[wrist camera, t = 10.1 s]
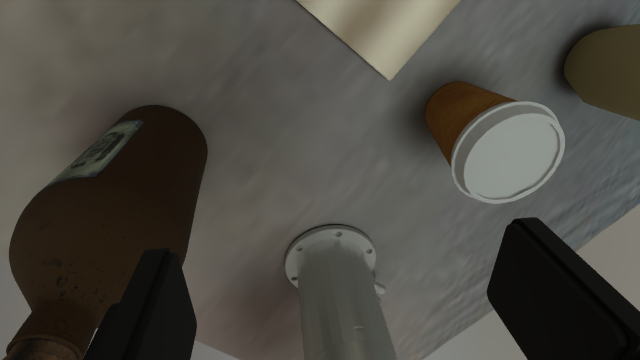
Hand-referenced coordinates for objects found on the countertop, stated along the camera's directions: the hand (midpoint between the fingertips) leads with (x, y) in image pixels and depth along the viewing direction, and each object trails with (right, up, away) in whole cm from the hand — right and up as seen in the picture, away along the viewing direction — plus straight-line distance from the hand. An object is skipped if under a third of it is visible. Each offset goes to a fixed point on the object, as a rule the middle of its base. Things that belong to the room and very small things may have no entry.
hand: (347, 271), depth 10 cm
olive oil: (-18, +6, +28) cm, 34 cm away
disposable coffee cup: (+14, +11, +30) cm, 34 cm away
